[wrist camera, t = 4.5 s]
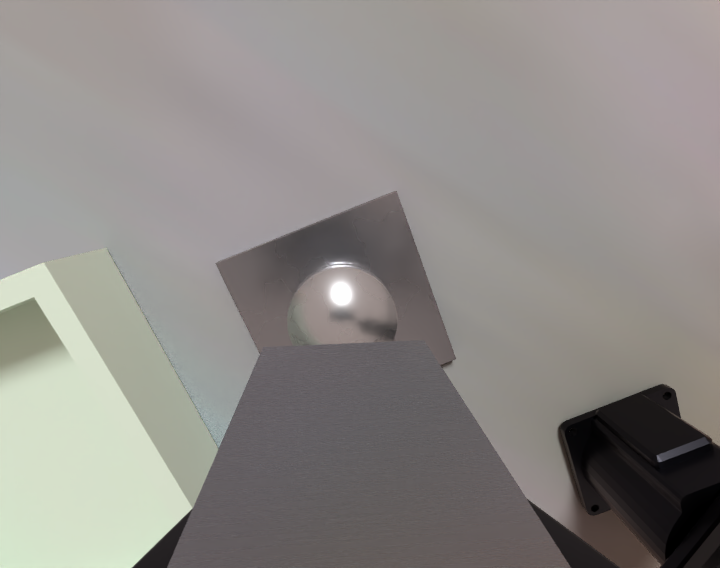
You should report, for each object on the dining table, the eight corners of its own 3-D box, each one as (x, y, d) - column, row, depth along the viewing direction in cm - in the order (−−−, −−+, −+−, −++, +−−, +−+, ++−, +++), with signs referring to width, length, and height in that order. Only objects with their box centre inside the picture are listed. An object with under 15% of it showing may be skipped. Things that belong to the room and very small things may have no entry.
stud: (452, 354, 20) (465, 371, 18) (294, 415, 21) (291, 438, 19) (394, 191, 18) (401, 190, 16) (219, 261, 18) (206, 269, 16)
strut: (426, 337, 10) (834, 948, 2) (422, 477, 11) (685, 1280, 3) (261, 345, 9) (-87, 1106, 2) (272, 488, 10) (91, 1411, 2)
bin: (267, 537, 22) (254, 609, 18) (45, 623, 22) (-16, 713, 18) (106, 247, 18) (43, 262, 14) (-166, 357, 18) (-303, 401, 14)
